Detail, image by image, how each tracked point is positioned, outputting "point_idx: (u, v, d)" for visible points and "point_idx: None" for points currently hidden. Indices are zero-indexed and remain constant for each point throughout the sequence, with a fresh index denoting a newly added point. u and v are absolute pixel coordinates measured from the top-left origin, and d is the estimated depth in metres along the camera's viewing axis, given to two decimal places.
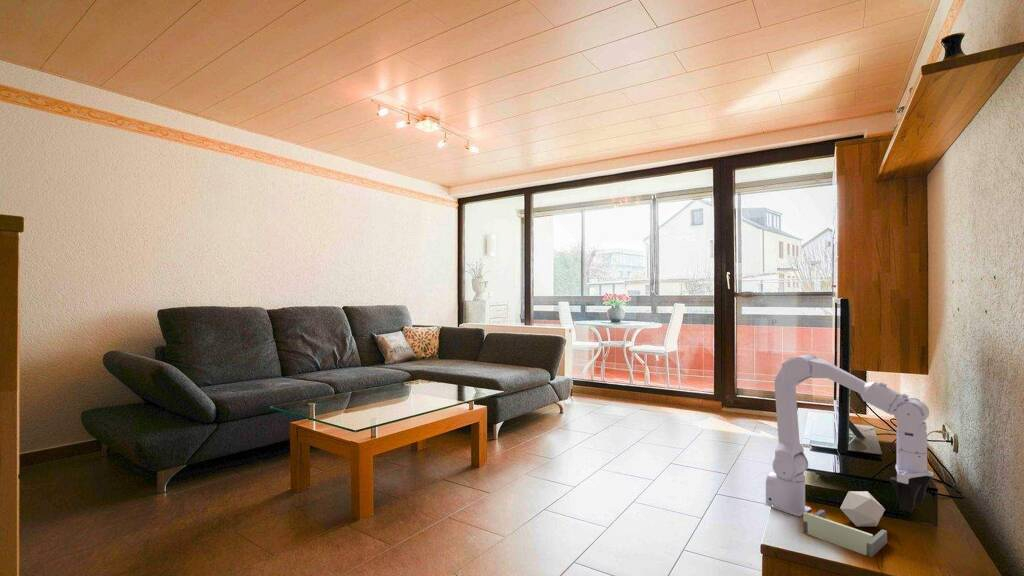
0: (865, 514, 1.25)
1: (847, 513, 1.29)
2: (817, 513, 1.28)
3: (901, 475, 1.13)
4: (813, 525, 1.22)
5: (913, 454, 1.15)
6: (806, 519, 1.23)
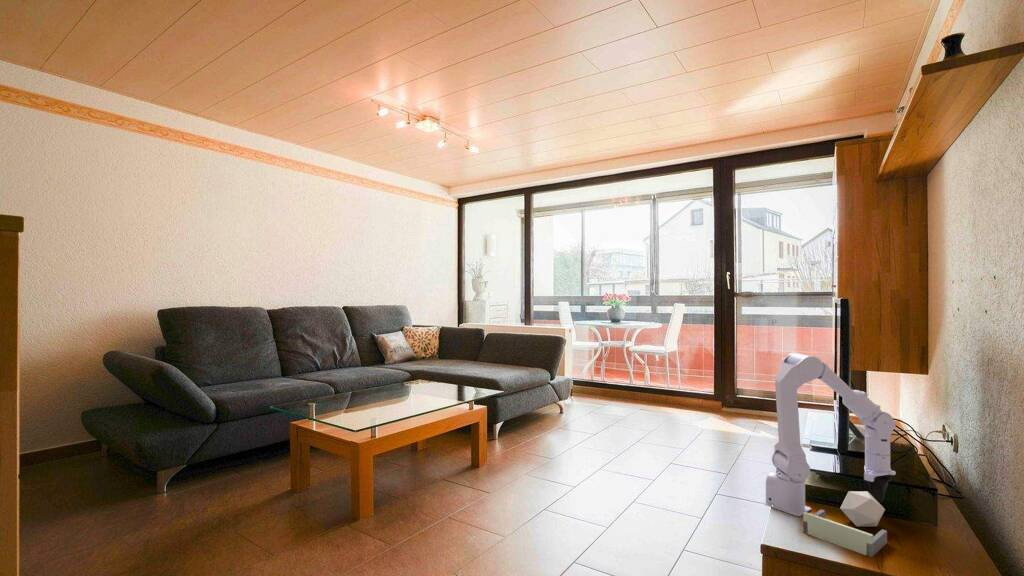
0: (865, 514, 1.25)
1: (847, 513, 1.29)
2: (817, 513, 1.28)
3: (868, 474, 1.32)
4: (813, 525, 1.22)
5: (878, 456, 1.34)
6: (806, 519, 1.23)
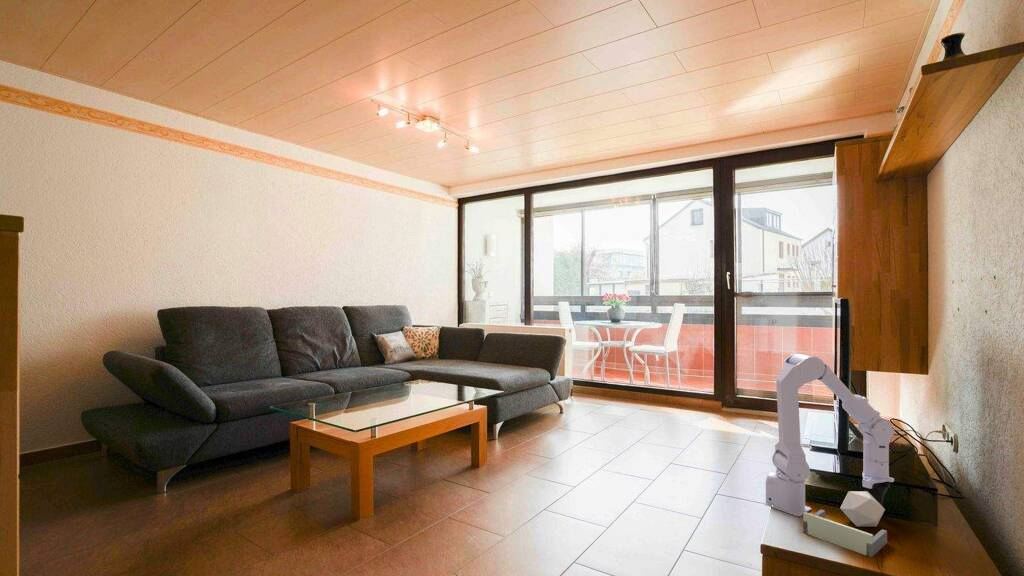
0: (865, 514, 1.25)
1: (847, 513, 1.29)
2: (817, 513, 1.28)
3: (866, 481, 1.31)
4: (813, 525, 1.22)
5: (877, 463, 1.33)
6: (806, 519, 1.23)
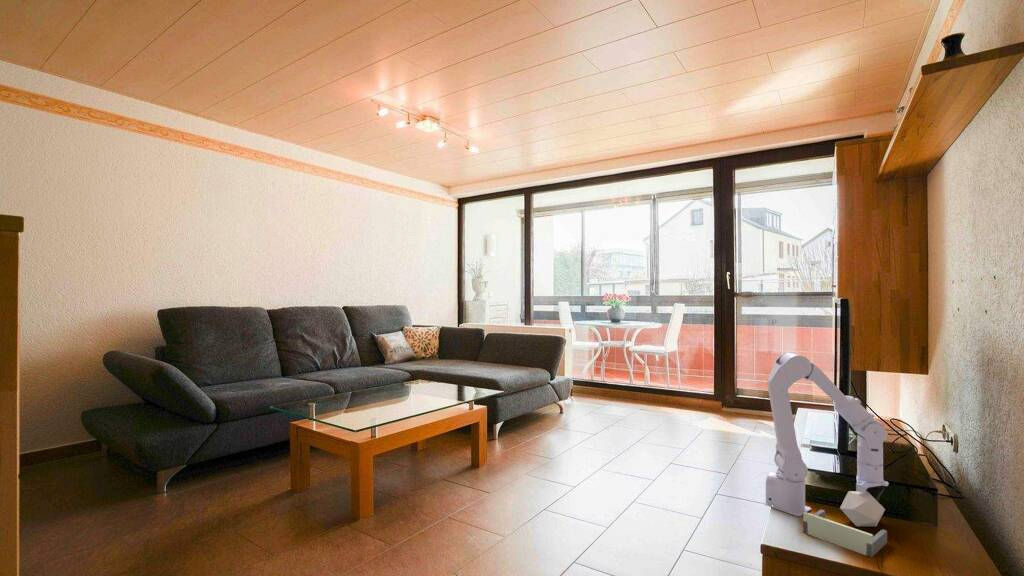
0: (865, 514, 1.25)
1: (847, 513, 1.29)
2: (817, 513, 1.28)
3: (860, 485, 1.28)
4: (813, 525, 1.22)
5: (871, 466, 1.30)
6: (806, 519, 1.23)
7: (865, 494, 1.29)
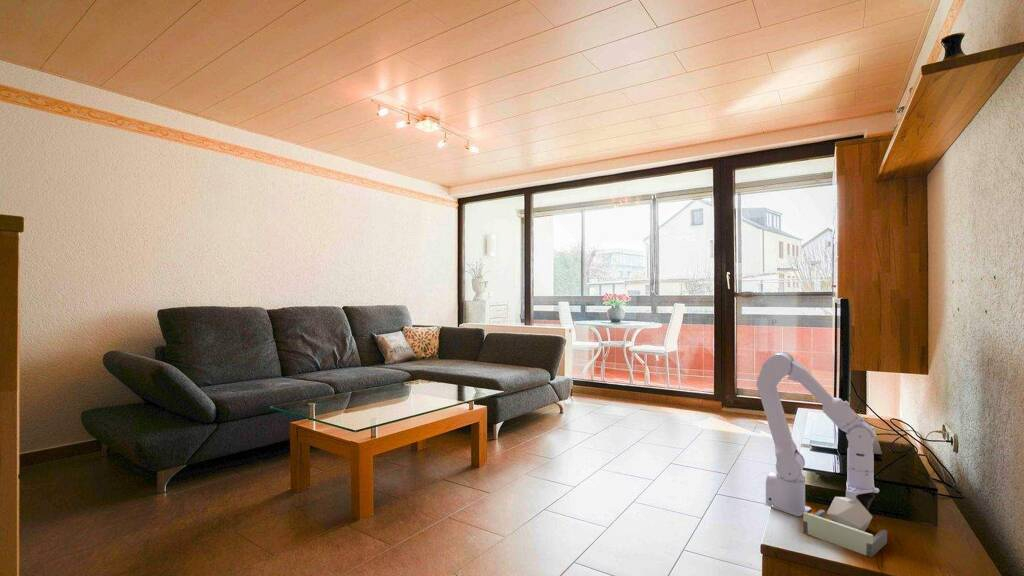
0: (849, 521, 1.22)
1: (832, 519, 1.26)
2: (817, 513, 1.28)
3: (849, 492, 1.24)
4: (813, 525, 1.22)
5: (861, 472, 1.26)
6: (806, 519, 1.23)
7: (852, 500, 1.25)
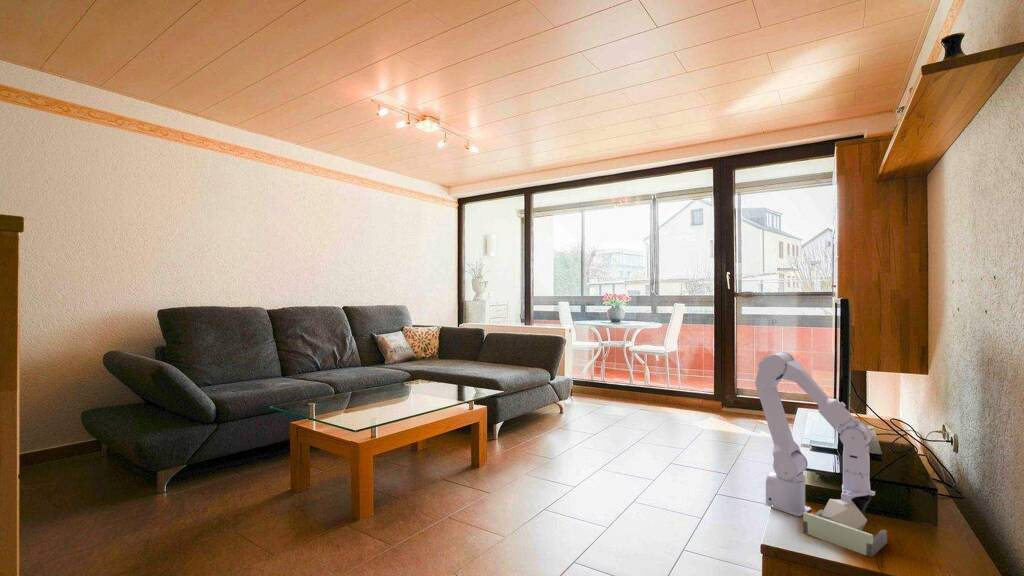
0: (842, 523, 1.20)
1: None
2: (817, 513, 1.28)
3: (845, 495, 1.22)
4: (813, 525, 1.22)
5: (856, 475, 1.24)
6: (806, 519, 1.23)
7: (847, 503, 1.23)
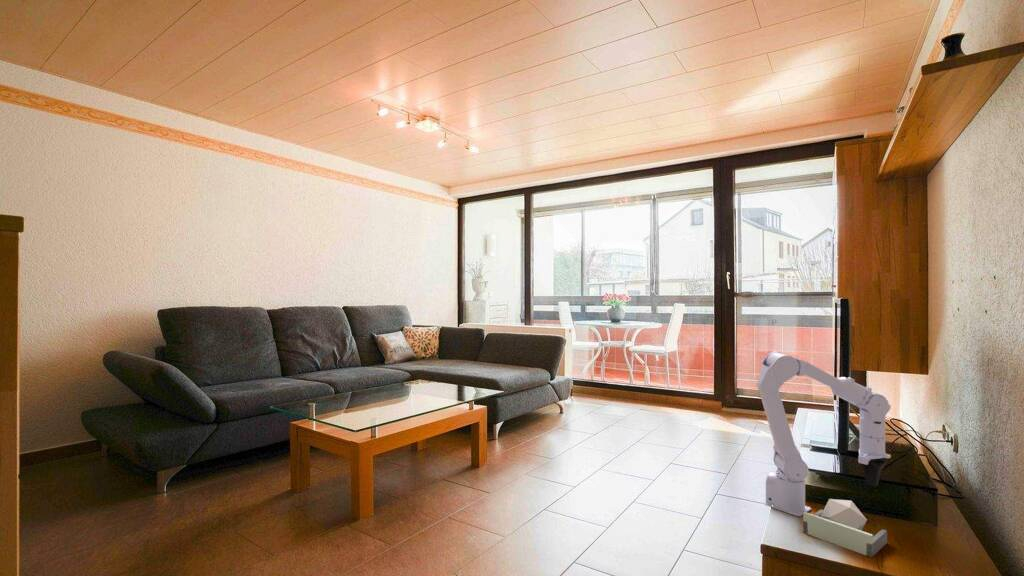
0: (842, 523, 1.20)
1: None
2: (817, 513, 1.28)
3: (862, 457, 1.30)
4: (813, 525, 1.22)
5: (873, 439, 1.31)
6: (806, 519, 1.23)
7: (846, 503, 1.23)
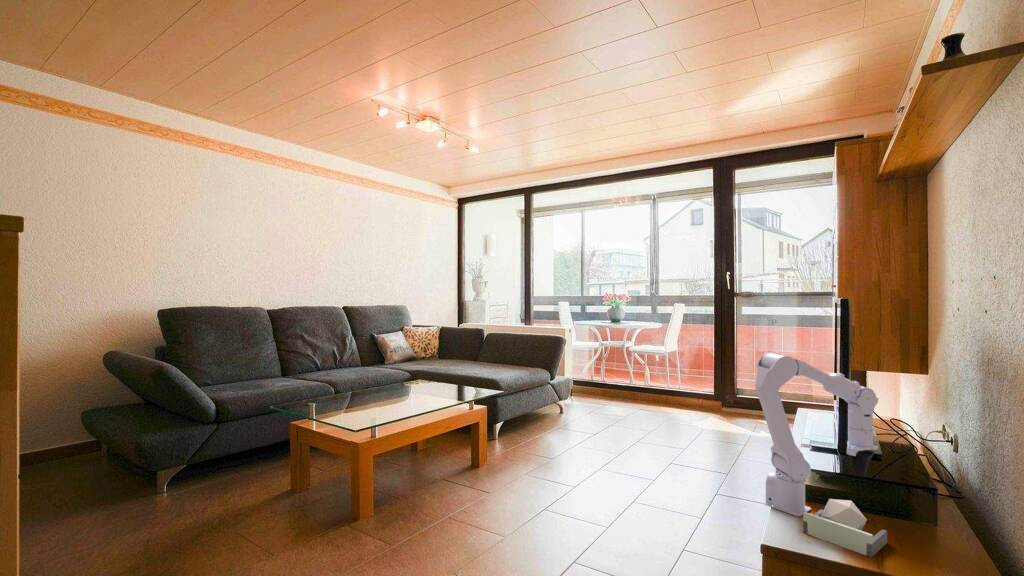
0: (842, 523, 1.20)
1: None
2: (817, 513, 1.28)
3: (850, 449, 1.34)
4: (813, 525, 1.22)
5: (861, 431, 1.36)
6: (806, 519, 1.23)
7: (846, 503, 1.23)
